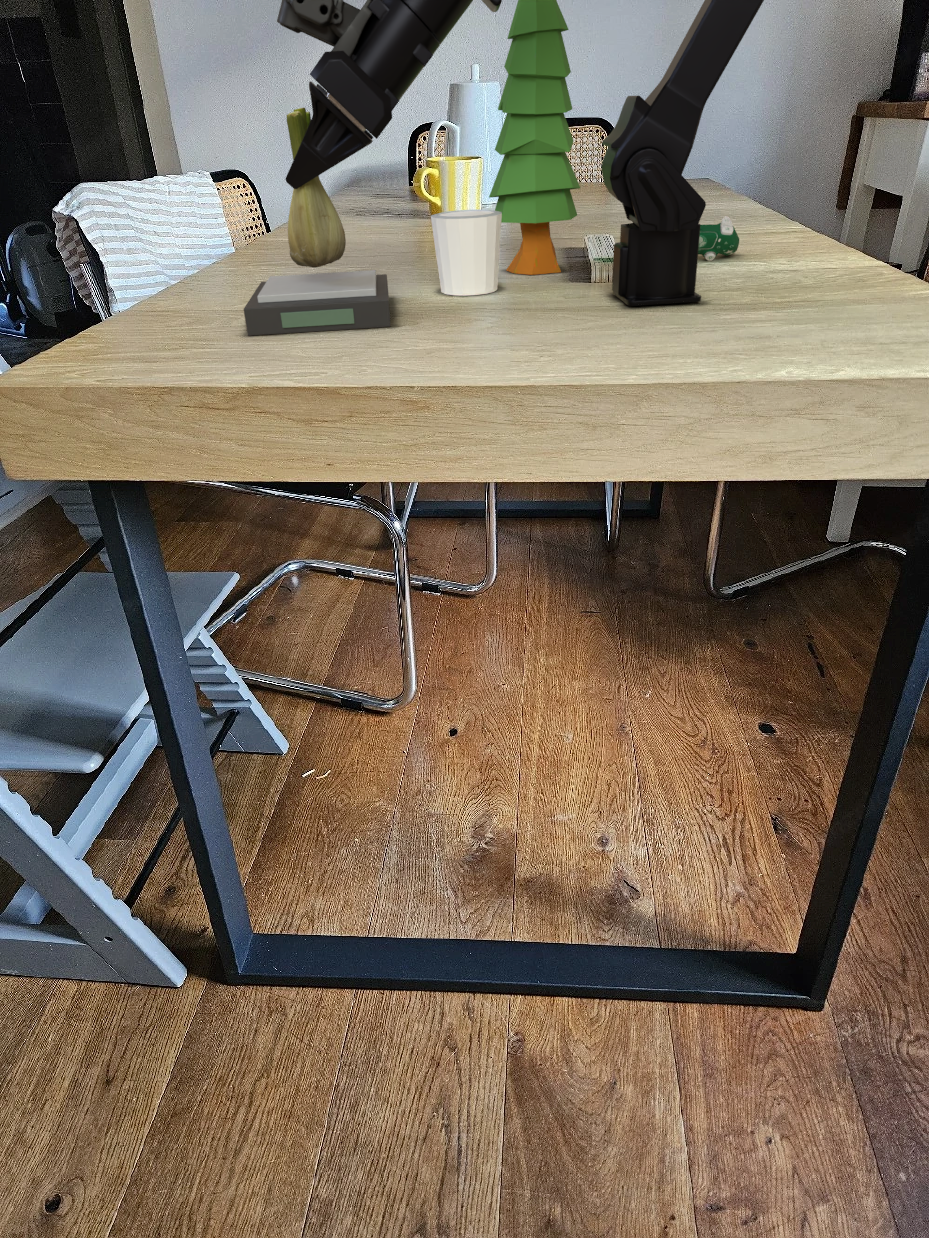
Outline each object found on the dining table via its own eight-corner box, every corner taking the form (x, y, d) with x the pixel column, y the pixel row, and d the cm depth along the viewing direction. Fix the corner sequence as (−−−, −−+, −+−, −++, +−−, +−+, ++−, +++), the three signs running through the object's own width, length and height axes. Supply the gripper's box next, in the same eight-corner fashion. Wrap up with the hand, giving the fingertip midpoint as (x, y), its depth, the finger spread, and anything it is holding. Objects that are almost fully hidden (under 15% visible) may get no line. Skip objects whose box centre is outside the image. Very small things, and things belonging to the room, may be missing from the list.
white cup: (497, 296, 84) (495, 216, 81) (427, 297, 86) (422, 218, 82) (509, 283, 90) (507, 207, 86) (443, 284, 91) (439, 209, 88)
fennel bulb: (316, 258, 81) (295, 107, 75) (362, 259, 79) (344, 104, 73) (278, 270, 77) (252, 111, 70) (325, 272, 75) (303, 108, 68)
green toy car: (651, 276, 100) (654, 241, 94) (652, 246, 101) (655, 210, 95) (736, 274, 98) (744, 239, 93) (736, 245, 99) (744, 208, 94)
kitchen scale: (388, 298, 86) (386, 267, 85) (390, 327, 75) (387, 292, 73) (264, 305, 85) (260, 275, 84) (247, 336, 74) (241, 301, 73)
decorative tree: (512, 280, 92) (506, -87, 76) (476, 268, 99) (464, -68, 84) (594, 270, 95) (604, -85, 79) (553, 259, 102) (555, -67, 87)
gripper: (335, -51, 74) (228, 108, 79) (323, -95, 58) (190, 109, 63) (435, 53, 79) (327, 199, 84) (450, 40, 63) (316, 221, 68)
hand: (293, 182), depth 75 cm, fingers closed on fennel bulb, 6 cm apart
